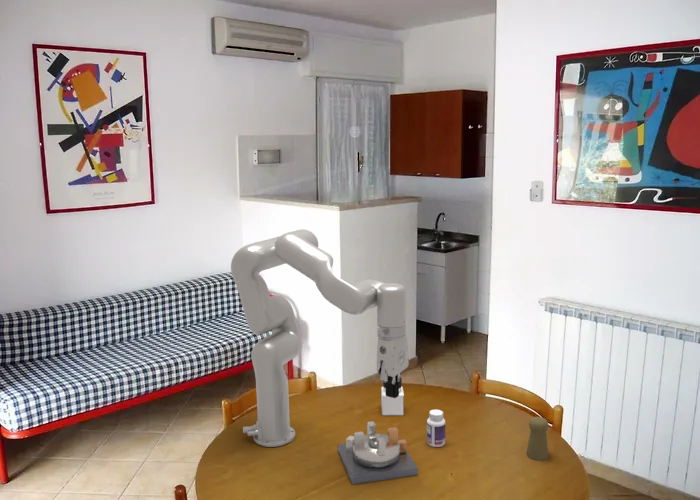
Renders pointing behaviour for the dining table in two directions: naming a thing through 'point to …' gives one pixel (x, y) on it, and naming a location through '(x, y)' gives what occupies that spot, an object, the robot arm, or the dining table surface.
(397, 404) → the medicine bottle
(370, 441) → the round disc with cubes
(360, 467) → the base plate
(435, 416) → the pill bottle
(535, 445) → the olive pawn
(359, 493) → the dining table surface
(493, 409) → the dining table surface
